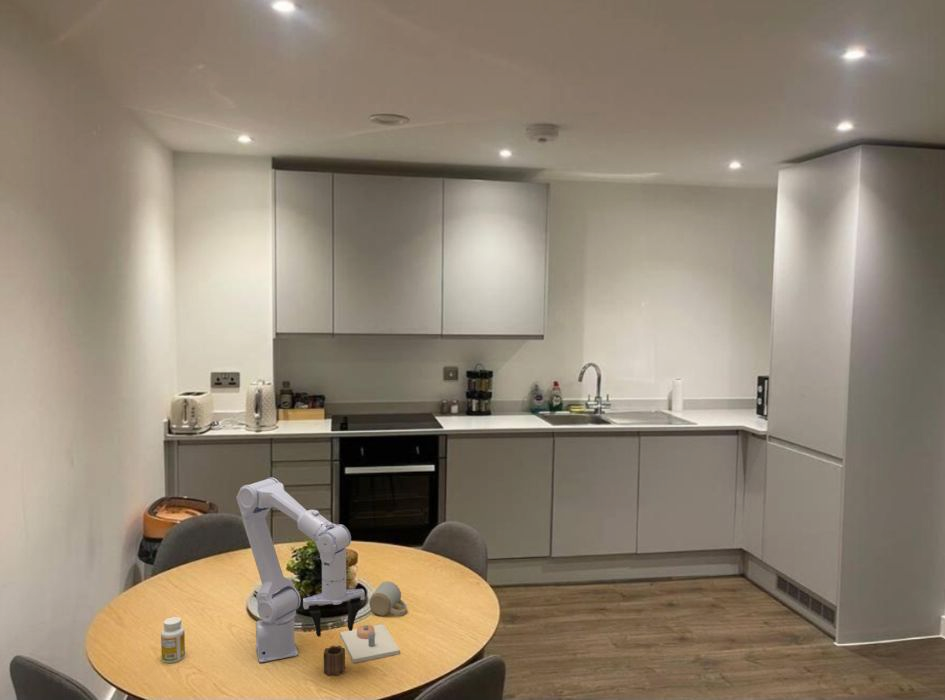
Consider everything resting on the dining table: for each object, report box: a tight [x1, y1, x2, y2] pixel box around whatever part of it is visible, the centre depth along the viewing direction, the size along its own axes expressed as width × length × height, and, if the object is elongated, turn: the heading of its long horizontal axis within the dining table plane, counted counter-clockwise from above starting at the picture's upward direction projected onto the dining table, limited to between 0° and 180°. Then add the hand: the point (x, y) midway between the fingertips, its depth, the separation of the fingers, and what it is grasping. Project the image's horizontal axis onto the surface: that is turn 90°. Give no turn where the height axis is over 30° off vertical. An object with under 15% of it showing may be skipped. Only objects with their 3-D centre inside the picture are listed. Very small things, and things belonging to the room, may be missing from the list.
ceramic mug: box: [368, 581, 408, 616], centre depth 198 cm, size 10×8×7 cm
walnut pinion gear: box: [323, 645, 346, 677], centre depth 167 cm, size 5×5×5 cm
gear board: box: [339, 623, 401, 664], centre depth 179 cm, size 12×15×4 cm
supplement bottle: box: [160, 616, 186, 664], centre depth 172 cm, size 5×5×10 cm
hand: (334, 631), depth 166 cm, fingers open, 7 cm apart
